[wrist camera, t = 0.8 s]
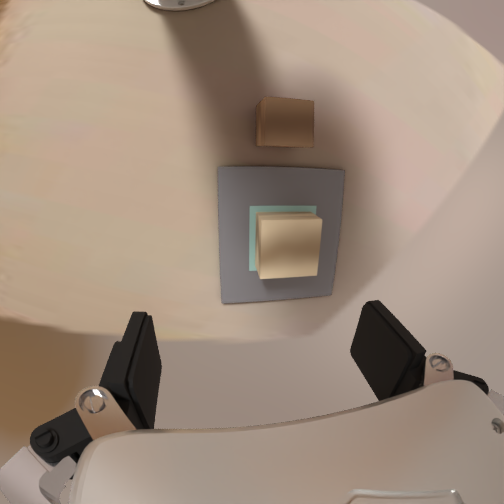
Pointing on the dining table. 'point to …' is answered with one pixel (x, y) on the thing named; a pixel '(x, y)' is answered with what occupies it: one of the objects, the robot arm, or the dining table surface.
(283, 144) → the walnut block
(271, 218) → the maple block
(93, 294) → the dining table surface
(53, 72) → the dining table surface
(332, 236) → the build mat
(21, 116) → the dining table surface
